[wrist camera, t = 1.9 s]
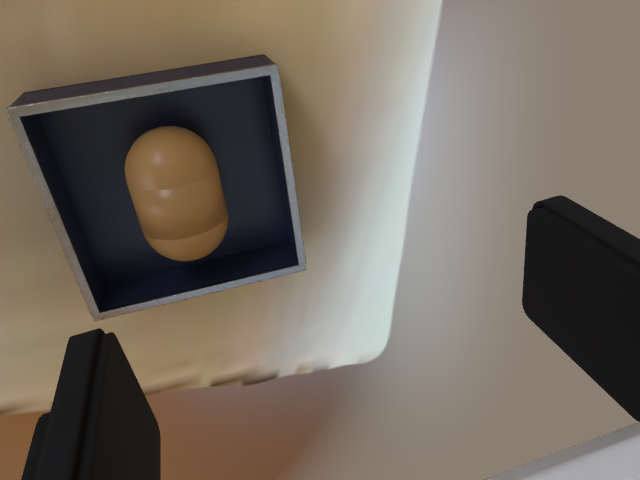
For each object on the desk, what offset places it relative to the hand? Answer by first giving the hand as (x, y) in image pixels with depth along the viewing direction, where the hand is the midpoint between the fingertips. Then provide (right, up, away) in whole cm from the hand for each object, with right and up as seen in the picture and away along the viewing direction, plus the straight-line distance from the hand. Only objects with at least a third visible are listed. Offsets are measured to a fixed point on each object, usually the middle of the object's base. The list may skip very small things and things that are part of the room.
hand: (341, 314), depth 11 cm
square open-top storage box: (-9, +6, +20) cm, 23 cm away
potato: (-9, +5, +20) cm, 23 cm away
